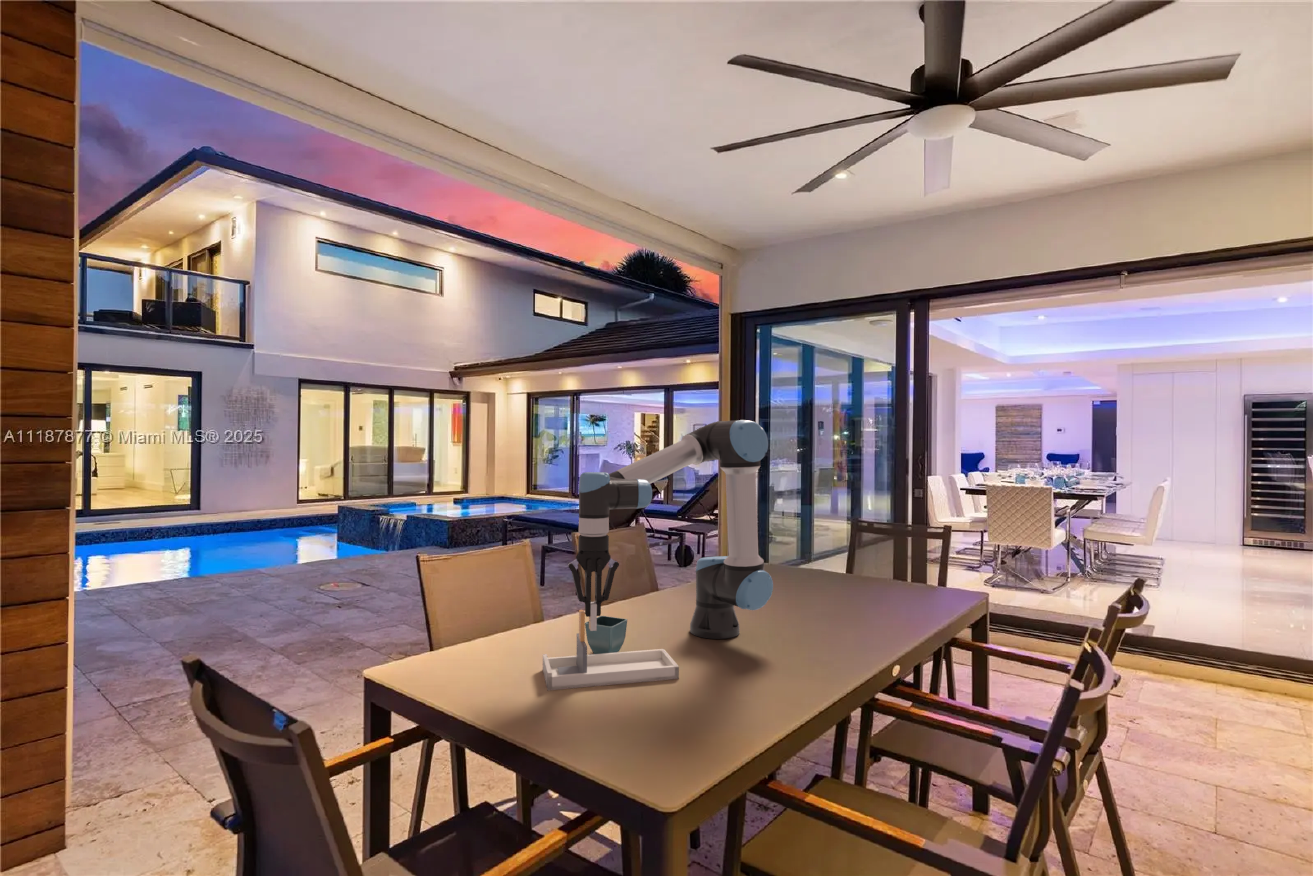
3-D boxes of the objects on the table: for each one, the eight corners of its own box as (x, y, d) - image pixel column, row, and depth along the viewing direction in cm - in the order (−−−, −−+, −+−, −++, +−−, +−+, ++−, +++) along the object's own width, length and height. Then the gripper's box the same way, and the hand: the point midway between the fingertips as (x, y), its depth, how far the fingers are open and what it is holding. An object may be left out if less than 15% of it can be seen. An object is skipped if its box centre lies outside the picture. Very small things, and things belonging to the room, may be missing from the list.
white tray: (663, 660, 172) (663, 645, 172) (678, 678, 159) (678, 662, 159) (542, 670, 164) (542, 654, 164) (547, 690, 151) (547, 673, 151)
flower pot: (583, 655, 176) (583, 622, 176) (601, 646, 183) (601, 615, 183) (611, 661, 172) (611, 627, 172) (627, 651, 179) (628, 619, 179)
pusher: (580, 664, 165) (580, 605, 165) (586, 680, 154) (587, 617, 155) (556, 666, 164) (557, 607, 164) (561, 682, 153) (562, 618, 153)
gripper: (616, 531, 166) (615, 623, 166) (565, 532, 163) (564, 626, 162) (622, 535, 159) (621, 631, 158) (569, 537, 155) (568, 635, 155)
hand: (592, 629), depth 160 cm, fingers closed
